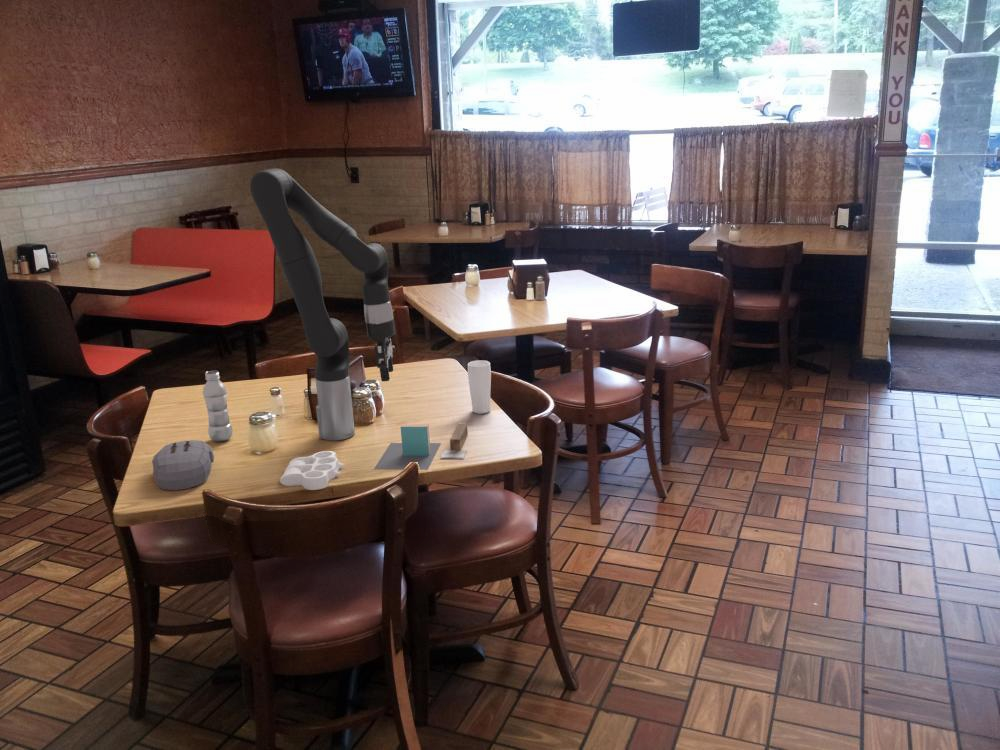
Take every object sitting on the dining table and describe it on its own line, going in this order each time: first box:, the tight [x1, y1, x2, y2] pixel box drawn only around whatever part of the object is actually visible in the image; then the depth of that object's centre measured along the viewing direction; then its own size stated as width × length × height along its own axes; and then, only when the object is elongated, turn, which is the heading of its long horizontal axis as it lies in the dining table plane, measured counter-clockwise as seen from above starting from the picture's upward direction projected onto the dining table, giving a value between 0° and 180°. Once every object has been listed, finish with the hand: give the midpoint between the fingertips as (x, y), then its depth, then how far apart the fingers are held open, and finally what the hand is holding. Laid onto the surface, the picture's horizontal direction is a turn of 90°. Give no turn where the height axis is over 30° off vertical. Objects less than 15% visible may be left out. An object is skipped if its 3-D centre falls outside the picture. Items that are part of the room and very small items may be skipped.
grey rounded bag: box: [151, 439, 215, 491], centre depth 225 cm, size 15×8×20 cm
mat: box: [373, 442, 442, 471], centre depth 232 cm, size 14×18×1 cm
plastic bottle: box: [202, 370, 233, 442], centre depth 248 cm, size 6×7×20 cm
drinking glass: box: [467, 359, 492, 415], centre depth 262 cm, size 7×7×15 cm
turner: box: [440, 423, 469, 460], centre depth 236 cm, size 6×17×4 cm, turn 173°
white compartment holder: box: [279, 450, 346, 491], centre depth 223 cm, size 3×18×15 cm
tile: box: [400, 423, 431, 456], centre depth 231 cm, size 7×2×8 cm, turn 83°
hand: (387, 376), depth 242 cm, fingers open, 8 cm apart
